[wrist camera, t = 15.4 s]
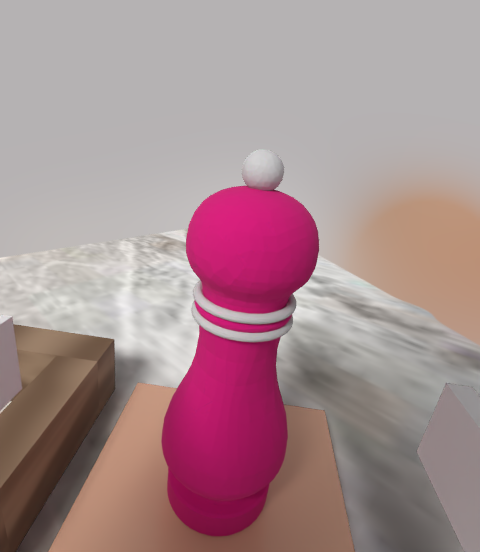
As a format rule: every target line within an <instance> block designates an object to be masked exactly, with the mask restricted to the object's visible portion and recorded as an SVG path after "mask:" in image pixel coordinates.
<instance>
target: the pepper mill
mask: <svg viewBox="0 0 480 552" xmlns="http://www.w3.org/2000/svg"><path fill="white" fill-rule="evenodd" d="M283 174H284V166H283V163H282V161H281V159H280V158H279V157H278V155H277V154H275V153H274V152H272V151H270V150H266V149H261V150H257V151H254V152H253V153H251V154H250V155H249V156H248V157H247V158H246V159H245V162H244V164H243V167H242V176H243V180H244V182H245V184H246V185H247V186H238V187H231V188H227V189H223V190H221V191H219V192H217V193H215V194H213V195H211V196H209V197H208V198H207V199H205V200H204V201H203V202H202V204H201V205H200V206H199V207H198V208H197V210H196V211H195V212H194V215H193V217H192V219H191V221H190V224H189V228H188V233H187V238H186V254H187V257H188V260H189V263H190V266H191V268H192V269H193V271H194V272H195V274H196V275H197V276H198V277H199V279H200V281H199V282H198V283H197V284H196V285H195V287H194V289H193V296H194V299H195V301H194V302H193V305H192V314H193V317H194V319H195V320H196V322H197V323H198V324H199V339H198V344H197V349H196V354H195V357H194V359H193V362H192V365H191V367H190V368H189V370H188V372H187V374H186V375H185V377H184V378H183V380H182V382H181V383H180V385H179V386H178V388H177V390H176V391H175V393H174V395H173V397H172V399H171V401H170V404H169V406H168V409H167V412H166V414H165V417H164V423H163V429H162V440H161V443H162V450H163V455H164V458H165V461H166V463H167V466H168V480H167V493H168V498H169V502H170V504H171V507H172V509H173V511H174V512H175V514H176V515H177V517H178V518H179V519H180V520H181V521H182V522H183V523H184V524H185V525H186V526H188V527H189V528H191V529H193V530H195V531H196V532H198V533H201V534H205V535H209V536H229V535H232V534H235V533H238V532H240V531H242V530H244V529H245V528H247V527H249V526H250V525H251V524H252V523H253V522H254V521H255V520H256V519H257V518H258V516H259V515H260V513H261V511H262V510H263V508H264V505H265V502H266V498H267V494H268V489H269V484H270V482H271V481H272V480H273V479H274V478H275V477H276V475H277V474H278V472H279V470H280V468H281V466H282V464H283V461H284V458H285V453H286V447H287V439H288V430H287V418H286V411H285V408H284V404H283V401H282V397H281V394H280V390H279V386H278V381H277V372H276V358H277V348H278V344H279V341H280V337H281V336H283V335H284V334H286V333H287V332H288V331H289V330H290V328H291V327H292V324H293V316H292V313H293V312H294V310H295V308H296V299H295V297H294V295H293V293H294V292H295V291H296V290H298V289H299V288H300V287H302V286H303V285H304V284H305V283H306V282H307V281H308V280H309V279H310V277H311V275H312V273H313V271H314V269H315V266H316V263H317V258H318V252H319V239H318V230H317V227H316V224H315V221H314V219H313V218H312V216H311V214H310V213H309V212H308V211H307V209H306V208H305V207H304V206H303V205H302V204H301V203H299V202H298V201H297V200H295V199H294V198H293V197H291V196H289V195H287V194H284V193H282V192H280V191H276V190H274V189H275V188H276V187H278V185H279V184H280V182H281V181H282V178H283Z"/></svg>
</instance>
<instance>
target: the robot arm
mask: <svg viewBox="0 0 480 552" xmlns="http://www.w3.org/2000/svg"><path fill="white" fill-rule="evenodd" d="M21 389H22V384H21V377H20V369H19V362H18V355H17V348H16V340H15V333H14V326H13V319H12V316H6V315H0V410H1V409H2V408H3V407H4V406H5V405H6V404H7V403H8V402H9V401H10V400H11V399H12V398H13V397H14V396H15V395H16V394H17V393H18V392H19V391H20V390H21ZM417 453H418V456H419V458H420V460H421V462H422V464H423V466H424V468H425V470H426V472H427V475H428V477H429V479H430V481H431V483H432V485H433V487H434V489H435V491H436V494H437V496H438V498H439V500H440V502H441V504H442V506H443V508H444V510H445V512H446V515H447V517H448V519H449V521H450V523H451V525H452V527H453V529H454V531H455V534H456V536H457V538H458V540H459V542H460V544H461V546H462V548H463V550H464V552H480V395H479V394H478V393H477V392H476V391H475V389H474V388H473V387H469V386H463V385H456V384H450V383H446V385H445V387H444V389H443V392H442V394H441V396H440V399H439V401H438V403H437V406H436V408H435V410H434V412H433V415H432V417H431V419H430V422H429V424H428V426H427V429H426V431H425V433H424V436H423V438H422V440H421V443H420V445H419V447H418V449H417Z"/></svg>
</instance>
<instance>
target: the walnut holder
mask: <svg viewBox="0 0 480 552" xmlns="http://www.w3.org/2000/svg"><path fill="white" fill-rule="evenodd" d="M13 326H14V333H15V340H16V348H17V355H18V362H19V369H20V377H21V384H22V389H21V390H20V391H19V392H18V393H17V394H16V395H15V396H14V397H13V398H12V399H11V400H10V401H12V402H11V403H10V404H9V405H8V406H7V407H6V408H5V409H4V410H3V412H2V413H1V414H0V552H16V550H17V548H18V547H19V545H20V543H21V542H22V540H23V538H24V537H25V535H26V534H27V532H28V530H29V529H30V527H31V525H32V524H33V522H34V520H35V519H36V517H37V515H38V514H39V512H40V511H41V509H42V507H43V506H44V504H45V502H46V501H47V499H48V497H49V496H50V494H51V493H52V491H53V489H54V488H55V486H56V484H57V483H58V481H59V479H60V478H61V476H62V475H63V473H64V471H65V470H66V468H67V466H68V465H69V463H70V461H71V460H72V458H73V457H74V455H75V453H76V452H77V450H78V448H79V447H80V445H81V443H82V442H83V440H84V439H85V437H86V435H87V434H88V432H89V430H90V429H91V427H92V425H93V424H94V422H95V421H96V419H97V417H98V416H99V414H100V412H101V411H102V409H103V407H104V406H105V404H106V403H107V401H108V399H109V398H110V396H111V394H112V393H113V391H114V389H115V351H114V339H109V338H102V337H95V336H89V335H82V334H75V333H68V332H61V331H55V330H48V329H41V328H34V327H28V326H21V325H14V324H13Z"/></svg>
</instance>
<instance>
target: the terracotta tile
mask: <svg viewBox="0 0 480 552" xmlns="http://www.w3.org/2000/svg"><path fill="white" fill-rule="evenodd" d="M176 390H177V388H170V387H164V386H157V385H150V384H144V383H137V385H136V387H135V389H134V391H133V393H132V395H131V397H130V399H129V400H128V402H127V404H126V406H125V408H124V410H123V412H122V414H121V415H120V417H119V419H118V421H117V423H116V425H115V427H114V429H113V431H112V432H111V434H110V436H109V438H108V440H107V442H106V444H105V446H104V447H103V449H102V451H101V453H100V455H99V457H98V459H97V461H96V463H95V464H94V466H93V468H92V470H91V472H90V474H89V476H88V478H87V479H86V481H85V483H84V485H83V487H82V489H81V491H80V493H79V495H78V496H77V498H76V500H75V502H74V504H73V506H72V508H71V510H70V512H69V513H68V515H67V517H66V519H65V521H64V523H63V525H62V527H61V528H60V530H59V532H58V534H57V536H56V538H55V540H54V542H53V544H52V545H51V547H50V549H49V551H48V552H355V550H354V545H353V541H352V536H351V531H350V527H349V522H348V517H347V513H346V508H345V503H344V499H343V494H342V489H341V485H340V480H339V476H338V471H337V466H336V462H335V457H334V452H333V448H332V443H331V438H330V434H329V429H328V424H327V420H326V415H325V411H324V410H317V409H310V408H304V407H297V406H290V405H284V408H285V411H286V418H287V430H288V439H287V447H286V453H285V458H284V461H283V464H282V466H281V468H280V470H279V472H278V474H277V475H276V477H275V478H274V479H273V480H272V481H271V482H270V484H269V489H268V494H267V498H266V502H265V505H264V508H263V510H262V511H261V513H260V515H259V516H258V518H257V519H256V520H255V521H254V522H253V523H252V524H251V525H250V526H249V527H247V528H245V529H244V530H242V531H240V532H238V533H235V534H232V535H229V536H209V535H205V534H201V533H198V532H196V531H195V530H193V529H191V528H189V527H188V526H186V525H185V524H184V523H183V522H182V521H181V520H180V519H179V518H178V517H177V515H176V514H175V512H174V511H173V509H172V507H171V504H170V502H169V498H168V493H167V480H168V466H167V463H166V461H165V458H164V455H163V450H162V443H161V440H162V429H163V423H164V417H165V414H166V412H167V409H168V406H169V404H170V401H171V399H172V397H173V395H174V393H175V391H176Z"/></svg>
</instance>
